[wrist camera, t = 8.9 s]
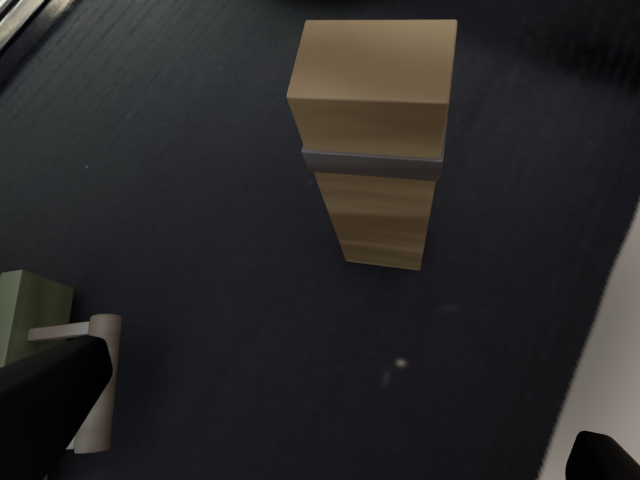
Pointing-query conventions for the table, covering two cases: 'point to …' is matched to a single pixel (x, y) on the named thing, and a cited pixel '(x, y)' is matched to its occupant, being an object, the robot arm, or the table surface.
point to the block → (375, 128)
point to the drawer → (56, 341)
